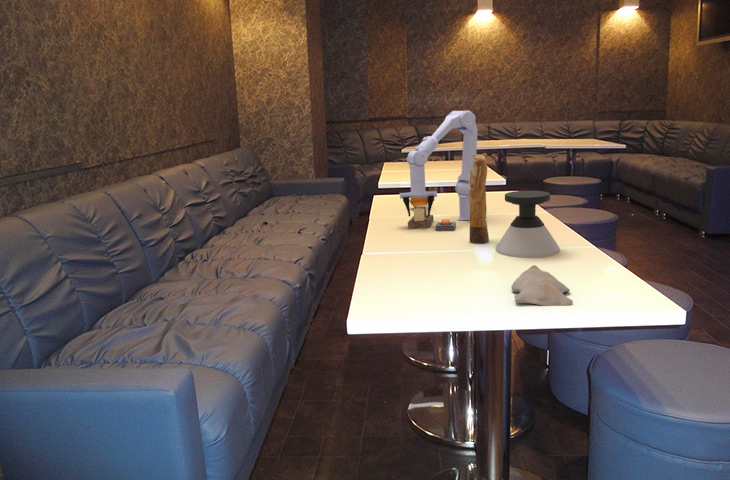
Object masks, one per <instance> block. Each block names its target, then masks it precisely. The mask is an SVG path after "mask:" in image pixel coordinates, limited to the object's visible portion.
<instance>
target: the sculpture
mask: <svg viewBox="0 0 730 480" xmlns="http://www.w3.org/2000/svg"><path fill="white" fill-rule="evenodd" d="M487 156H488V154H487V153H485V152H484V153H481V154H479V153H476V154H474V155H472V157H473V167H472V169H471V173H470V187H471V189H470V190H469V200H470V220H469V243H472V244H476V245H477V244H478V245H479V244H486V243H488V242H489V241H490V237H489V231H488V230H489V229H488V223H487V219H486V218H487V189H486V183H487V177H488V166H487V158H486V157H487Z"/></svg>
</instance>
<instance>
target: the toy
mask: <svg viewBox="0 0 730 480" xmlns="http://www.w3.org/2000/svg"><path fill="white" fill-rule="evenodd" d="M425 191H427V190H426V189H425ZM422 196H423V195H422ZM409 204H410V205H411V206H412V207H413V209H416V207H417V206H418V205H428V197H418V198H409Z"/></svg>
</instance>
